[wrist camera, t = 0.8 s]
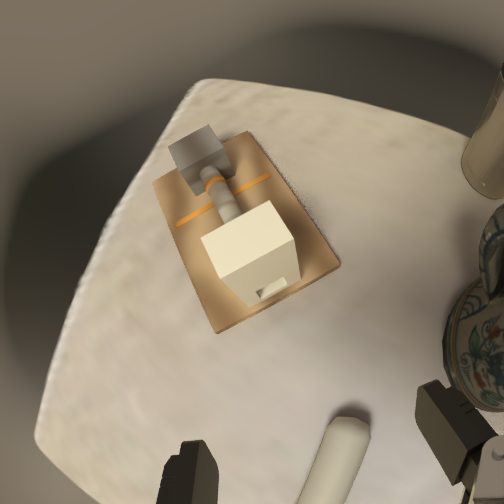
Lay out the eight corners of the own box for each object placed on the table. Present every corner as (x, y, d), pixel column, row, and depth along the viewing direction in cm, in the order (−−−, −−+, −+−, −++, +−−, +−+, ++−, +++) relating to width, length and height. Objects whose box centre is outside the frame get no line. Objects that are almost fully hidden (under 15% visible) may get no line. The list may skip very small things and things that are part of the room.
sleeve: (283, 250, 36) (269, 200, 26) (300, 279, 34) (293, 238, 24) (233, 277, 36) (200, 237, 26) (249, 308, 34) (219, 279, 24)
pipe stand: (248, 135, 46) (238, 101, 39) (339, 267, 36) (344, 243, 29) (155, 186, 46) (132, 159, 39) (217, 334, 36) (195, 324, 29)
